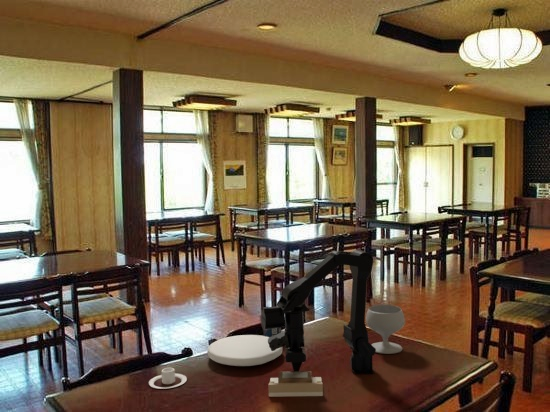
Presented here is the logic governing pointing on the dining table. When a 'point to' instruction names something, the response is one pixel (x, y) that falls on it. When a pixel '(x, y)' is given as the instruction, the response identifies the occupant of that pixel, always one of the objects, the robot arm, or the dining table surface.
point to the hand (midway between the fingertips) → (296, 373)
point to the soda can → (272, 332)
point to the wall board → (296, 388)
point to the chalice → (385, 326)
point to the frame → (295, 377)
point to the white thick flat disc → (242, 350)
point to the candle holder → (168, 378)
